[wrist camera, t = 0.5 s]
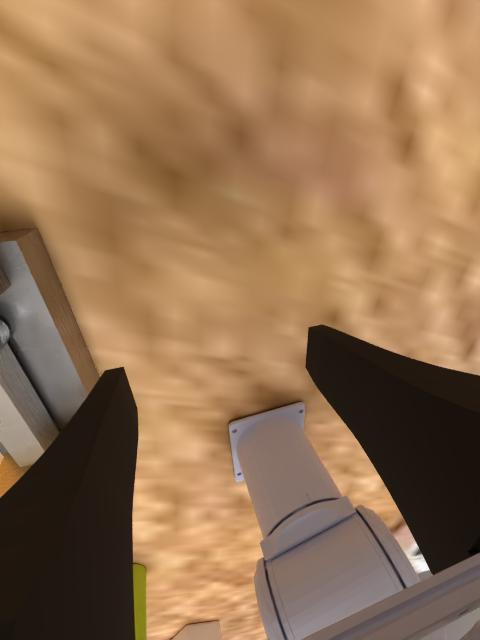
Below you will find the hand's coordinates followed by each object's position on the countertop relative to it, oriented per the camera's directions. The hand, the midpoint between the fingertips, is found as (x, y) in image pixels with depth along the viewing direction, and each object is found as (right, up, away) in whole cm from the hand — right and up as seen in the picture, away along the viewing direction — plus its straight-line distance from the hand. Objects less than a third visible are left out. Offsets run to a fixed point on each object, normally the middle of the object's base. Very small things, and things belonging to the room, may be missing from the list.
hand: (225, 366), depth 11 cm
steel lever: (-12, -2, +5) cm, 13 cm away
